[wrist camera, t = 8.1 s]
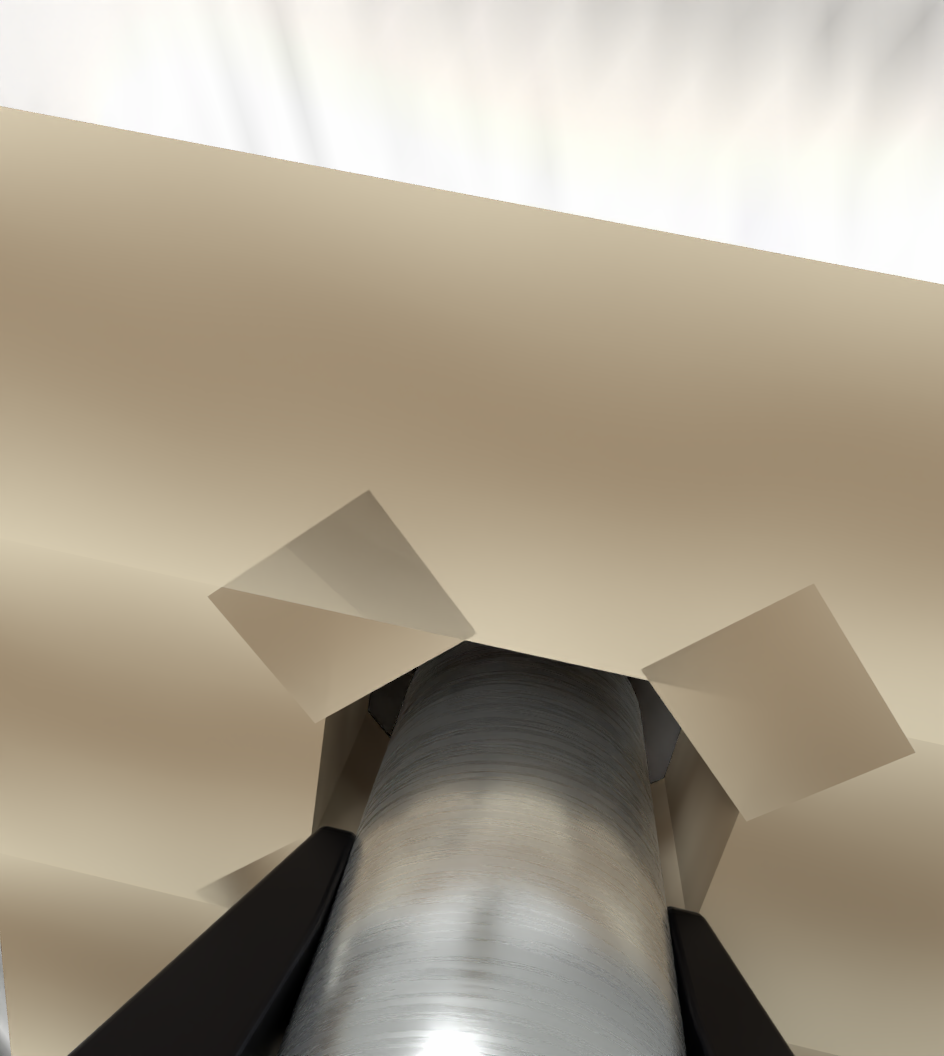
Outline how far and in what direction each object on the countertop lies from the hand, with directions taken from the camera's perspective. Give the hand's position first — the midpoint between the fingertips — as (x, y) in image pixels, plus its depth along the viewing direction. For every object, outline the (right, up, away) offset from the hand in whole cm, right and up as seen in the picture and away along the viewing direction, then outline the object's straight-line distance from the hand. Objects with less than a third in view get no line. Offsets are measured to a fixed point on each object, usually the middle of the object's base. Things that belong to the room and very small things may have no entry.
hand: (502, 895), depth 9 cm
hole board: (+1, +1, +4) cm, 4 cm away
